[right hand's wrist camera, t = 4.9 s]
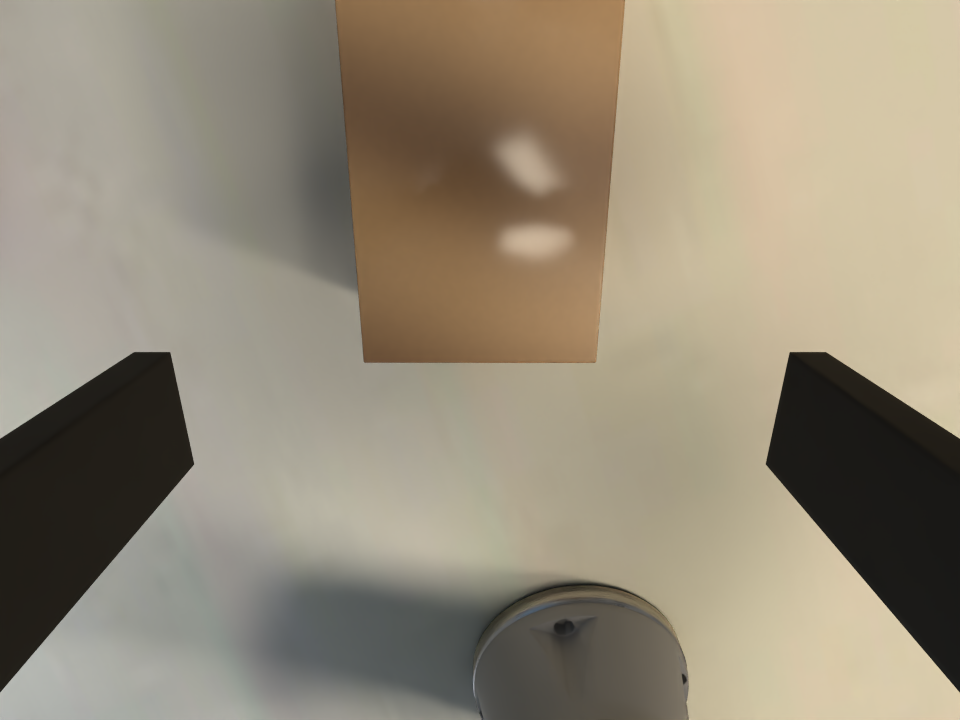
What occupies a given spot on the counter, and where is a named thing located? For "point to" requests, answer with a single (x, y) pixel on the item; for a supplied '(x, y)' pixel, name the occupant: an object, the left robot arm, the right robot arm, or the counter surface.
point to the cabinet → (479, 174)
